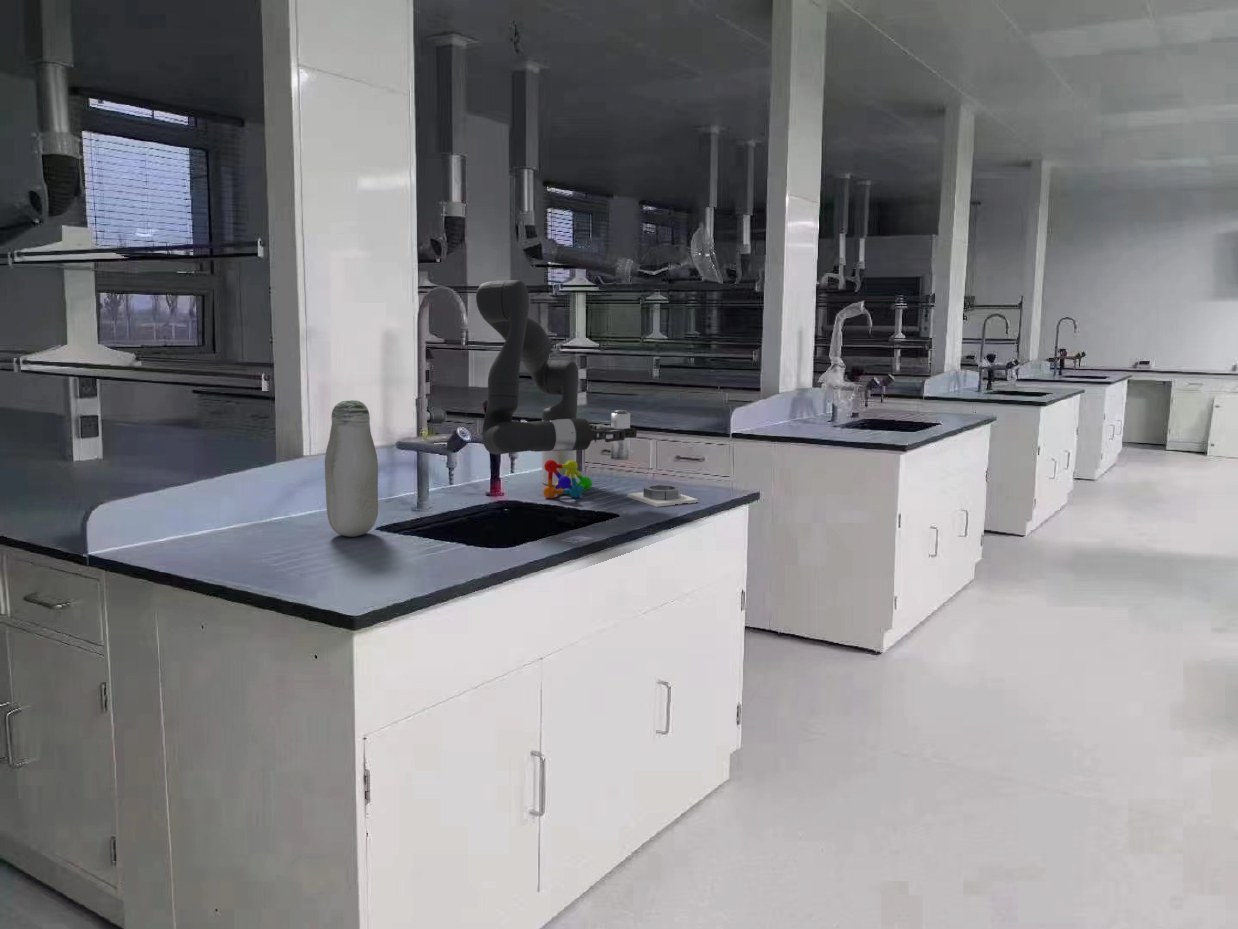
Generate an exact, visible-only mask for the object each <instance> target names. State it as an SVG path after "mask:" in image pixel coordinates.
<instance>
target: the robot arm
mask: <svg viewBox="0 0 1238 929" xmlns="http://www.w3.org/2000/svg"><path fill="white" fill-rule="evenodd" d="M475 294H476V295H475V302H476V303H475V304H476V307H477V309H478V311H479V314H480V315H481V317H482V318H483V320H485V322H486V323H487V324H489V326H490V327H492V329H494V330H495V331H496V332H497V333H498V334H499V335H500V336H501V338H502V339H503V340H504V344H503V345H502V347H501V349H500V351H499V352H498V354H497V356H496V357H495V358H494V361H493V363H492V364H491V366H490V369H489V372H488V375H487V376H488V378H487V400H486V401H487V405H486V410H485V415H484V419H483V423H482V431H481V432H482V433H481V438H482V444H483V447H484V448H485V450H486V451H487V452H489V453H490V454H492V455H496V456H497V455H498V456H499V455H504V454H505V455H506V454H513V453H522V452H536V453H537V452H541V483H542V484H543V485H547V486H548V472H547V471H546V470H545V468H544V465H545V462H546V461H548V460H554V461H555V462H556V463H557V464H566V462H567V461H569V460H573V461H575V462H576V463H577V451H585V450H587V449H588V448H589V447H590V445H591V443H592V442H594V443H602V442H606V443H611V442H612V441H620V440H621V441H623V440H625V438H630V439H631V438H636V437H637V432H638V431H637V428H635V427H630V428H624V429H623V428H613V427H612V426H611V424H607V425H605V424H602V423H601V424H600V423H599V424H596V423H595V424H594V423H590V422H589V421H588V419H586V418H584V417H581V418H580V417H579V418H577V412H578V396H579V395H578V394H579V393H578V392H579V368H578V365H577V363H576V362H575V361H573V360H562V359H561V360H560V359H558V360H557V359H552V360H551V359H548V358H549V357H550V354H551V351H552V342H551V339H550V337H549V335H548V334H547V331H545V330H544V328H543V327H542V325H541V324H540V323H539V322H537V321H536V320H534V319H532V318H530V317H528V316H529V309H530V307H529V306H530V305H529V304H530V298H529V297H530V296H529V291H528V288H527V285H526V284H525V282H523V281H522V280H518V279H510V280H507V279H506V280H489V281H486V282H483V283H481V284H480V285H479V287H478V288H477V290H476V293H475ZM521 363H522V364H523V365H524V367H525V368H526V370H527V371H528V373H529V374H530V376H531V378H532V380H533V382H534V384H535V386H536V388H537V389H538V390H539V391H540V392H541V393H542V394H545V395H553V396H554V395H555V396H558V395H559V396H561V399H560V402H558V403H557V404H555V405H552V406H550V407H547V408H544V409H543V410H542V412H541V420H537V421H530V422H527V421H526V422H525V421H513V415H514V413H515V412H516V411H517V410H518V408H519V396H520V394H519V393H520V392H519V391H520V388H519V387H520V370H521V368H520V367H521ZM556 470H557V471H558V472H559V473H560V474H561V475H562V476H564V475H565V473H566V469H565V468H557V469H556ZM569 478H570V480H571V474H570V475H569ZM575 478H576V479H577V476H576V475H575ZM558 480H559V479H558V477H557V476H556V475H555V474H554V473H553V477H552V486H555V484H556V483H557V482H558ZM571 484H572V480H571Z"/></svg>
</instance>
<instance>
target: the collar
mask: <svg viewBox="0 0 1238 929" xmlns="http://www.w3.org/2000/svg"><path fill="white" fill-rule="evenodd" d="M643 492H644V494H643V497H646V498H649V499H655V500H672V499H678V498H679V497H681V494H682V487H680V486H676V485H673V484H662V483H661V484H651V485H646V486H644V487H643Z"/></svg>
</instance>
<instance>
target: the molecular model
mask: <svg viewBox="0 0 1238 929" xmlns="http://www.w3.org/2000/svg"><path fill="white" fill-rule="evenodd" d="M578 467H579V465H578V462H577V461H576V462H575V461H573V460H569V461H567V462H566V464H557V463H556V462H555V461H554V460H548V461H546V462H545V465H544V468H545V470H546V471H547V472H548V485H547V486H545V487H544V489H542V490H543V491H542V494H543V496H544V497H545V498H546V499H553V498H554V497H555V496H556V495H570V496H571V498H574V499H578V498H580V497H581V496H582V494H583V490H585V491H586V490H590V489H591V488H592V486H593V481H592V479H591V478H589V477H587V476H583V475H582V473H581V472H579V470H578ZM557 468H565V469H566V473H565V475H564V476H562V475H561V474H560V473H559V472H558V471H557V470H556V469H557ZM553 473H554V474H555V475H556V476H557V477H558V479H559V480H558V482H557V483H556V484H555V485H552V477H553ZM570 474H571V480H572V484H571V480H570V478H569V475H570ZM575 475H576V478H575ZM577 478H578V479H579V481H578V482H577Z"/></svg>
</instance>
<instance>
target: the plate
mask: <svg viewBox="0 0 1238 929" xmlns="http://www.w3.org/2000/svg"><path fill="white" fill-rule="evenodd" d="M626 494H627V498H629V499H633V500H636V501H639V502H641V503H645V504H647V505H650V506H653V507H656V508H657V507H667V506H669V507H670V506H676V505H675V504H678V505H683V504H682V503H688V504H696V502H697V503H698V500H699V499H698V498H696V497H695V498H694V497H691V496H689V495H685V494H682V493H681V497H679V498H678V499H672V500H655V499H649V498H646V497H643V494H644V491H642V492H632V493H626Z"/></svg>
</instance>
